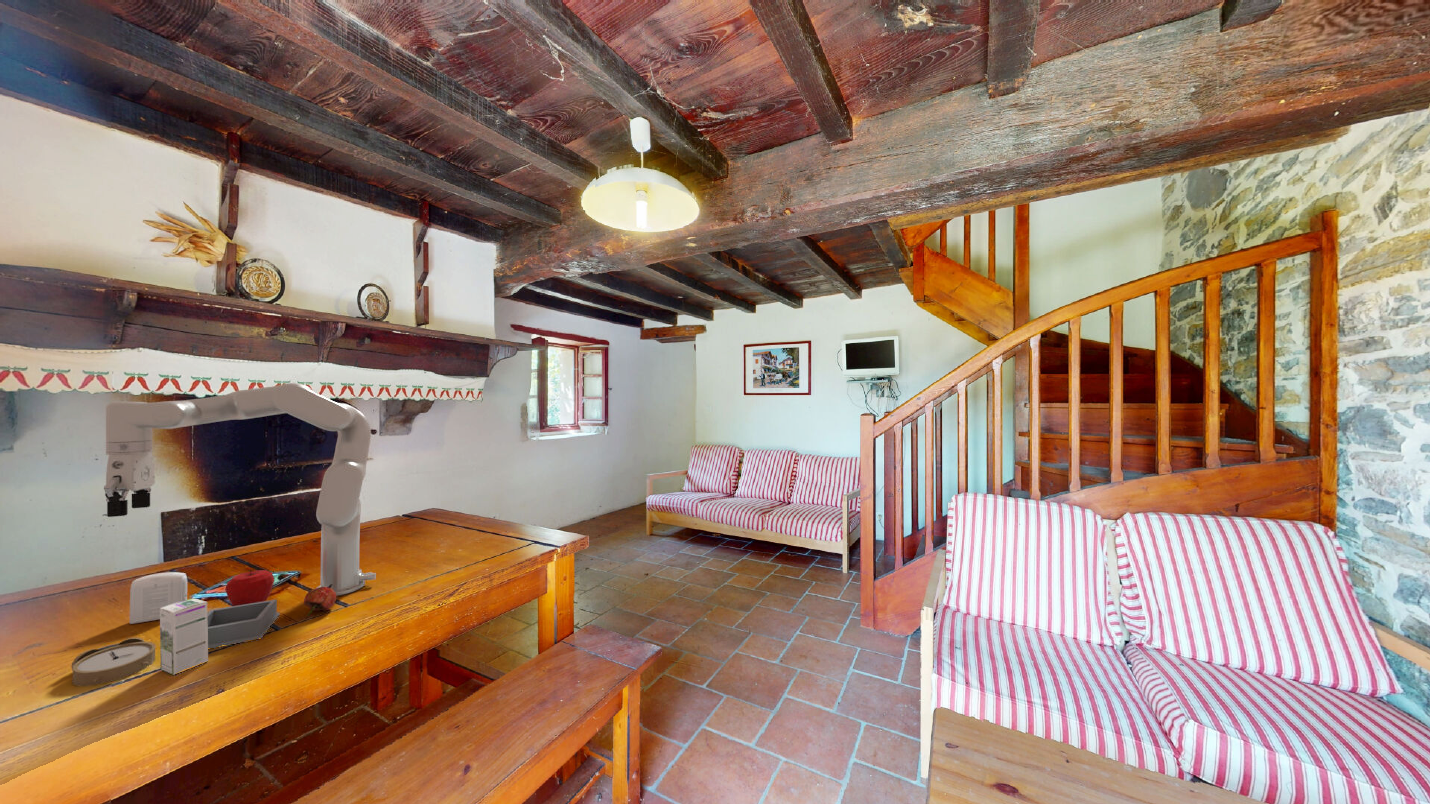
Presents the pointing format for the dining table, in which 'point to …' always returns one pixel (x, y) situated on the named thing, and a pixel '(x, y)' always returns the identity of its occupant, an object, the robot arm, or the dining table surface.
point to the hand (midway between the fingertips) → (129, 511)
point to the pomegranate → (320, 599)
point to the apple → (250, 587)
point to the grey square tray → (240, 622)
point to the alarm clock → (112, 662)
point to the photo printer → (155, 595)
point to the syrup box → (183, 635)
